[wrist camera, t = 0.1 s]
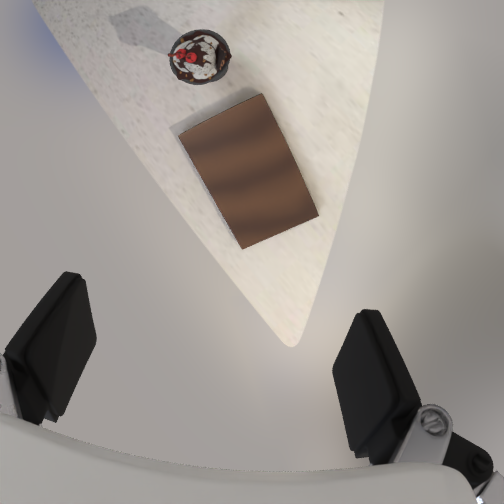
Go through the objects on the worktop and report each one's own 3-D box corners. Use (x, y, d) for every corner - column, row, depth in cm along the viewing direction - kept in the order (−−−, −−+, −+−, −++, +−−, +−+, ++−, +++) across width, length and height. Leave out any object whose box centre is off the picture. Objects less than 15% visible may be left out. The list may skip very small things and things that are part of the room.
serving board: (180, 134, 42) (177, 135, 41) (261, 93, 39) (262, 93, 38) (242, 245, 50) (242, 249, 49) (317, 212, 48) (319, 216, 46)
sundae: (177, 67, 37) (142, 54, 24) (212, 35, 35) (194, 7, 22) (208, 97, 39) (187, 96, 26) (244, 66, 37) (241, 49, 24)
